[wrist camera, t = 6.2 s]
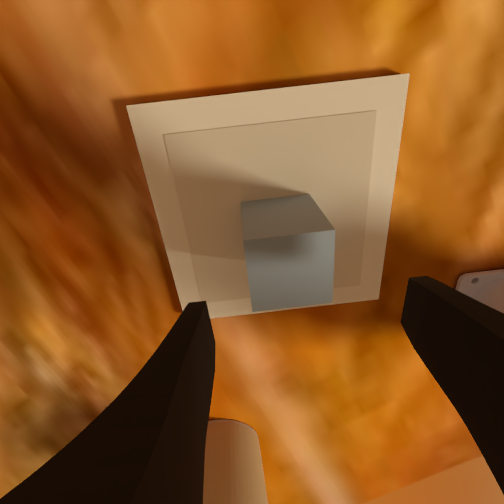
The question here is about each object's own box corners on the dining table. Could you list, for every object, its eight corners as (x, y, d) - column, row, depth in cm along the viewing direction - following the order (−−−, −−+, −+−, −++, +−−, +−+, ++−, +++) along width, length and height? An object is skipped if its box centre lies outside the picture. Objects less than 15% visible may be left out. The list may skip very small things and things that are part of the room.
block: (309, 193, 17) (335, 229, 13) (309, 253, 19) (332, 302, 15) (240, 201, 17) (242, 240, 13) (247, 260, 19) (252, 312, 15)
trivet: (401, 73, 15) (410, 73, 14) (374, 292, 22) (379, 299, 21) (130, 104, 15) (125, 105, 14) (186, 314, 22) (185, 322, 21)
